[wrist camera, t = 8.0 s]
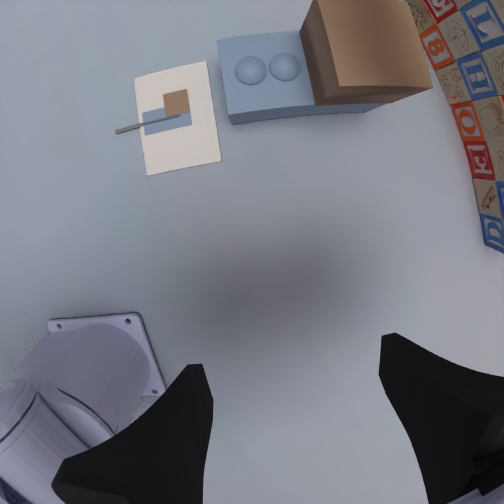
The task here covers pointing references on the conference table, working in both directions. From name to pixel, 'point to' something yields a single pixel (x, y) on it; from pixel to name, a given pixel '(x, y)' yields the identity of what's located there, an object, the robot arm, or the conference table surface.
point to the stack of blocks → (472, 91)
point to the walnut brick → (363, 52)
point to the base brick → (271, 79)
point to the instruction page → (176, 119)
